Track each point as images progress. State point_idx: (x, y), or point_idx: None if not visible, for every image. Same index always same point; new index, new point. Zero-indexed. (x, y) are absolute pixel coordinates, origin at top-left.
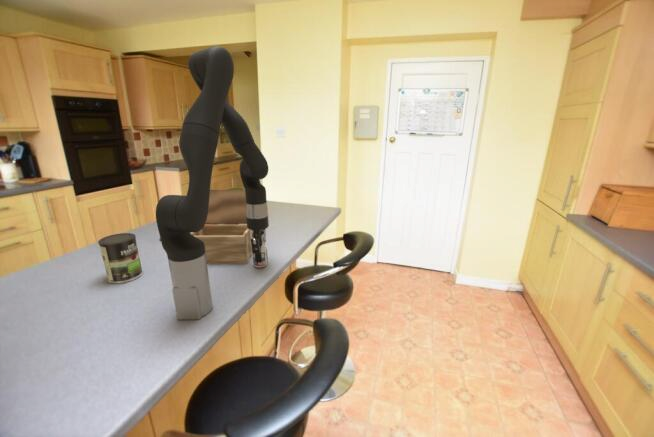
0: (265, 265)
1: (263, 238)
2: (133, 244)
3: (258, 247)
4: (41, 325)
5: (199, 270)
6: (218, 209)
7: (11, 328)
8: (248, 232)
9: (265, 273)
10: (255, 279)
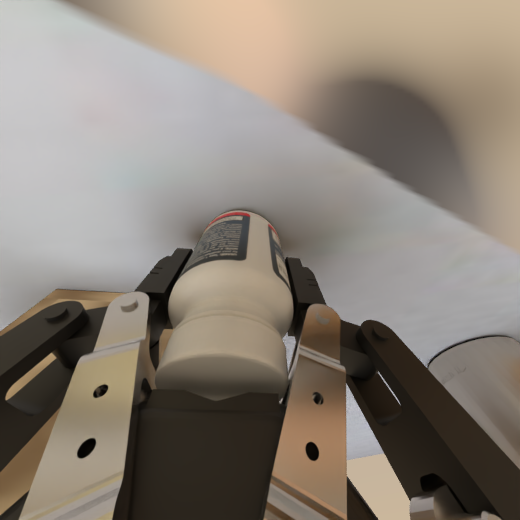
0: (268, 222)
1: (137, 409)
2: None
3: (461, 409)
4: (379, 447)
5: None
6: None
7: (371, 454)
8: (19, 478)
9: (340, 212)
10: (382, 251)
